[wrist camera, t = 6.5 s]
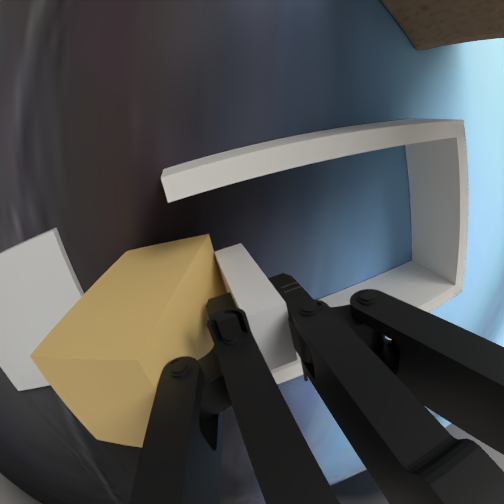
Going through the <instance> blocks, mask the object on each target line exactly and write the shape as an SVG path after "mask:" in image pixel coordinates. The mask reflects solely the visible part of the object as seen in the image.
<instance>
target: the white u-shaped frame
mask: <svg viewBox="0 0 504 504" xmlns="http://www.w3.org/2000/svg"><path fill="white" fill-rule="evenodd" d="M402 145H405V150H406V159H407V168H408V179H409V191H410V207H411V235H412V260H411V261H409V262H407V263H405V264H402V265H400V266H398V267H396V268H393V269H391V270H389V271H387V272H384V273H382V274H380V275H377V276H375V277H373V278H370V279H368V280H366V281H363V282H361V283H358V284H356V285H353V286H351V287H349V288H346V289H344V290H341V291H339V292H336V293H334V294H331V295H329V296H326V297H324V298H321V299H318V300H321V301H323V302H325V303H327V304H328V305H329V307H338V306H344V305H349V304H350V298H351V296H352V295H353V294H354V293H355V292H358V291H360V290H364V289H375V290H379V291H381V292H384V293H386V294H388V295H390V296H393V297H395V298H397V299H399V300H402V301H404V302H406V303H408V304H410V305H413V306H415V307H417V308H419V309H422V310H424V311H426V312H428V313H429V312H430V311H432V310H434V309H435V308H437V307H439V306H440V305H442V304H444V303H445V302H447V301H448V300H450V299H452V298H453V297H455V296H456V295H458V294H459V293H461V292H462V288H463V280H464V272H465V262H466V251H467V236H468V206H469V193H468V164H467V149H466V138H465V129H464V121H463V120H451V119H403V120H393V121H385V122H376V123H368V124H361V125H354V126H347V127H341V128H334V129H328V130H323V131H317V132H311V133H306V134H301V135H296V136H290V137H286V138H281V139H276V140H271V141H267V142H262V143H258V144H254V145H249V146H245V147H241V148H237V149H233V150H229V151H225V152H221V153H218V154H214V155H210V156H206V157H203V158H199V159H196V160H192V161H189V162H185V163H182V164H179V165H175V166H172V167H169V168H166V169H163V172H162V175H161V181H162V184H163V187H164V191H165V194H166V198H167V201H168V203H169V202H172V201H176V200H179V199H182V198H185V197H189V196H192V195H195V194H198V193H202V192H205V191H209V190H212V189H215V188H219V187H222V186H226V185H230V184H233V183H237V182H240V181H244V180H248V179H251V178H255V177H259V176H263V175H267V174H271V173H275V172H279V171H283V170H287V169H291V168H295V167H299V166H303V165H308V164H312V163H316V162H321V161H325V160H330V159H335V158H339V157H344V156H349V155H354V154H359V153H364V152H369V151H374V150H379V149H385V148H390V147H396V146H402ZM296 355H297V360H296V361H293V362H291V363H288V364H286V365H283V366H280V367H278V368H275V369H272V370H270V371H271V373H272V376H273V378H274V380H275V382H276V384H280V383H282V382H285V381H288V380H290V379H293V378H295V377H298V376H300V375H303V369H302V364H301V359H300V356H299V355H298V353H297V352H296Z"/></svg>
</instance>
